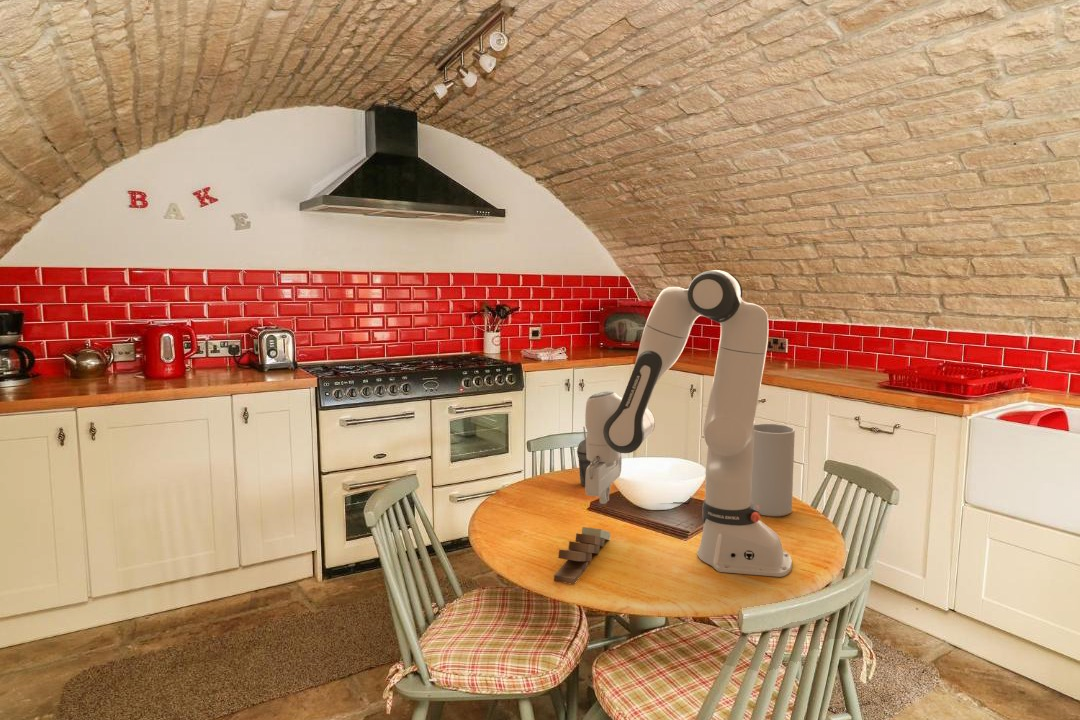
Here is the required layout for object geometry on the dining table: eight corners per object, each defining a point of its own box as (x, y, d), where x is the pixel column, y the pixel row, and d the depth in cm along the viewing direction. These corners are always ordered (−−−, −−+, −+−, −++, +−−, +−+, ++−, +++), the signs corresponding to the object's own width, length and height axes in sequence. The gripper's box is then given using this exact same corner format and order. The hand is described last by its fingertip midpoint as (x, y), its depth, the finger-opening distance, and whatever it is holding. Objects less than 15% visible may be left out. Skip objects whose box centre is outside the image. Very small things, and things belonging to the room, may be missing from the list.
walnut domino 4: (599, 545, 171) (588, 544, 162) (598, 553, 170) (587, 552, 161) (581, 542, 172) (569, 541, 164) (580, 550, 172) (568, 549, 163)
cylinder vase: (746, 514, 196) (748, 431, 193) (749, 500, 207) (751, 422, 204) (791, 519, 191) (794, 434, 188) (791, 505, 203) (794, 425, 200)
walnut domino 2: (588, 561, 162) (574, 578, 153) (588, 569, 163) (574, 586, 154) (568, 558, 164) (554, 575, 155) (568, 566, 165) (554, 583, 155)
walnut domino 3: (604, 538, 175) (595, 535, 166) (603, 546, 174) (594, 544, 165) (586, 536, 177) (576, 533, 168) (585, 543, 176) (575, 541, 167)
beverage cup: (595, 488, 221) (595, 430, 219) (574, 486, 224) (574, 428, 221) (600, 482, 228) (600, 425, 226) (580, 480, 230) (579, 423, 228)
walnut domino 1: (592, 552, 166) (578, 552, 157) (591, 561, 165) (577, 561, 156) (573, 550, 168) (559, 549, 159) (572, 558, 167) (558, 558, 158)
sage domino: (610, 532, 179) (601, 529, 170) (609, 540, 179) (600, 537, 170) (592, 530, 181) (582, 526, 172) (591, 537, 180) (581, 534, 172)
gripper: (601, 463, 167) (603, 516, 168) (625, 443, 185) (626, 491, 187) (578, 461, 169) (580, 513, 171) (603, 442, 188) (604, 489, 189)
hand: (604, 502), depth 179 cm, fingers closed
